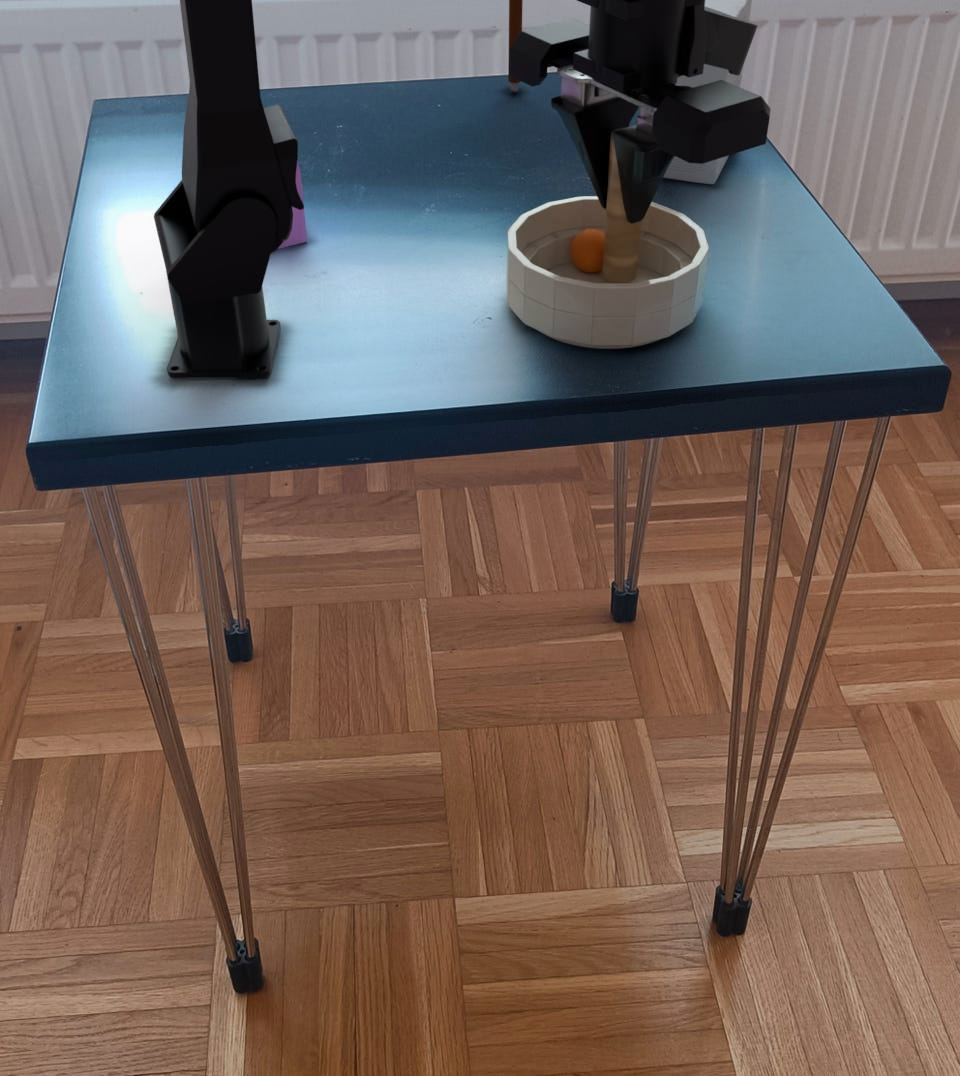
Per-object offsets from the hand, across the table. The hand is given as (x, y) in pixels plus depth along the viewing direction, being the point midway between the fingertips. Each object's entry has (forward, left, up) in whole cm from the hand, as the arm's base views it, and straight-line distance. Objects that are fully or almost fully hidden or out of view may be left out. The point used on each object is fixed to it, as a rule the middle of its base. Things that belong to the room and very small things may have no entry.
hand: (622, 214), depth 83 cm
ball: (+2, +2, -4) cm, 4 cm away
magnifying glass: (+38, +6, -6) cm, 39 cm away
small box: (+22, -8, -6) cm, 24 cm away
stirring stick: (0, 0, -5) cm, 5 cm away
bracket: (+12, +28, -6) cm, 31 cm away
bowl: (-2, +1, -6) cm, 6 cm away
